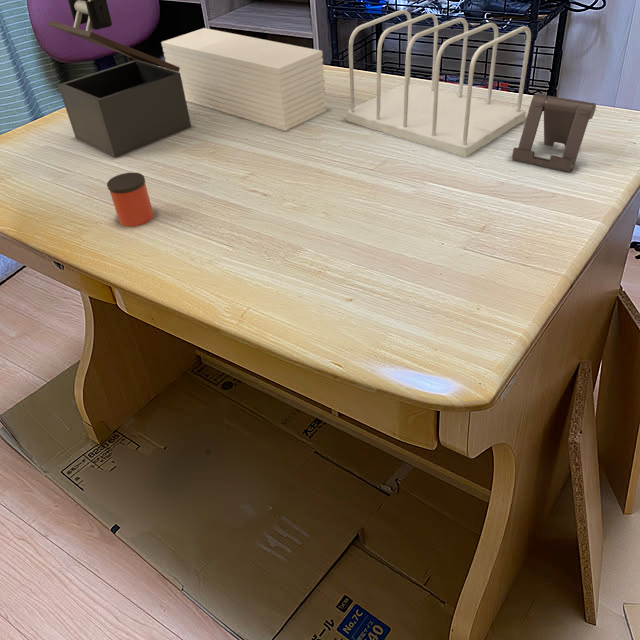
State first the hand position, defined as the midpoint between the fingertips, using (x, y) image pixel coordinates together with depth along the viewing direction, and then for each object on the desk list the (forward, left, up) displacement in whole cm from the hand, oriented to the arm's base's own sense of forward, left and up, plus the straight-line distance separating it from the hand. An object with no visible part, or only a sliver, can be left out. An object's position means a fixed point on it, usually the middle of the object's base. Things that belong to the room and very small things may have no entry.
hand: (93, 24), depth 100 cm
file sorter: (+50, -22, -19) cm, 58 cm away
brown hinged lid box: (+2, +1, -19) cm, 19 cm away
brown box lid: (+2, +1, -5) cm, 5 cm away
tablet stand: (+58, -43, -19) cm, 75 cm away
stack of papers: (+24, +4, -19) cm, 31 cm away
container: (-2, -31, -19) cm, 37 cm away
